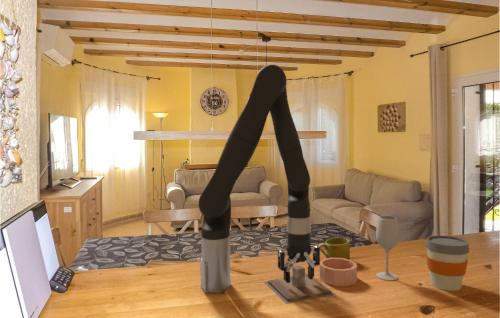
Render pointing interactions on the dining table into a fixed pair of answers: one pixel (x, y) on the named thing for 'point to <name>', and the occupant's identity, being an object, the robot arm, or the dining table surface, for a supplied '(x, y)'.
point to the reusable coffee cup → (447, 261)
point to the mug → (336, 248)
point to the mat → (295, 300)
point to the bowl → (338, 271)
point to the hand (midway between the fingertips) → (299, 280)
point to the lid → (299, 286)
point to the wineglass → (387, 241)
